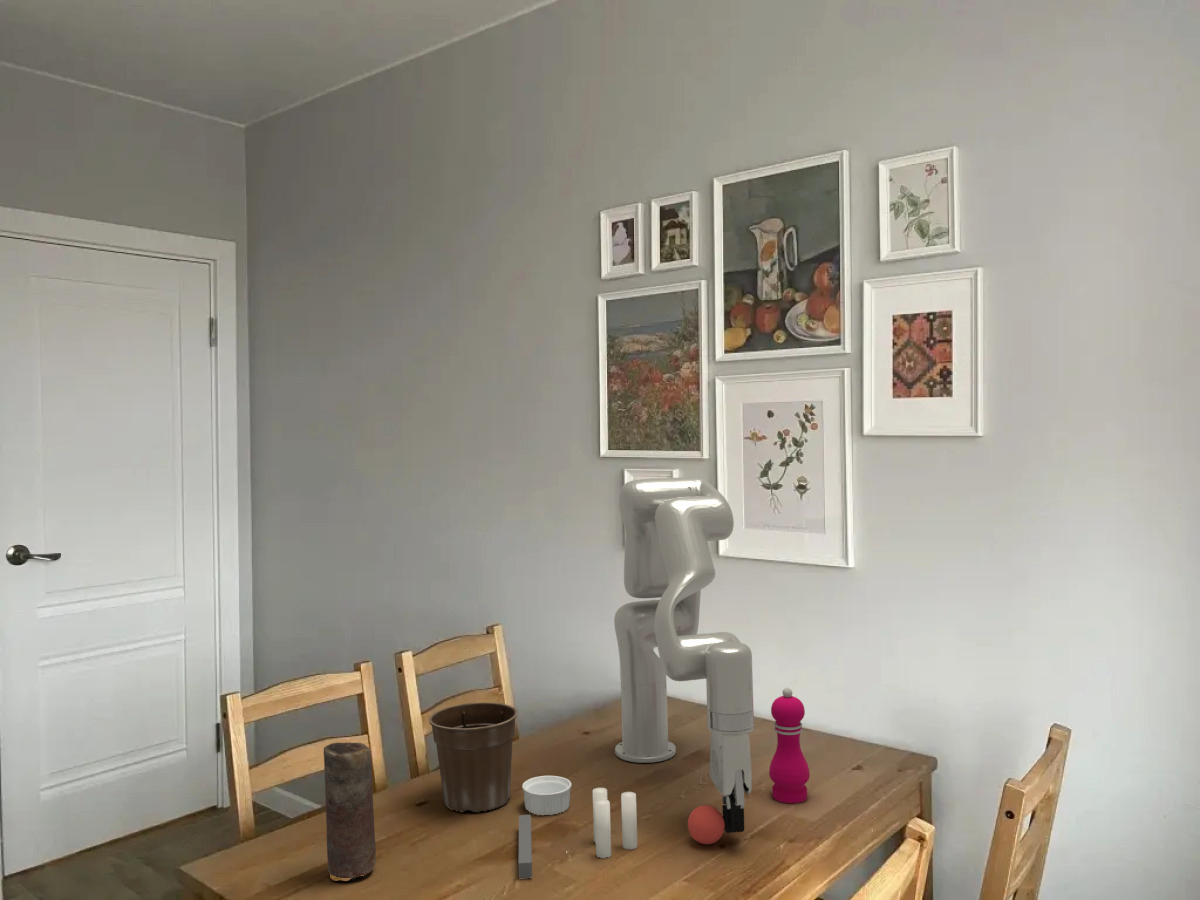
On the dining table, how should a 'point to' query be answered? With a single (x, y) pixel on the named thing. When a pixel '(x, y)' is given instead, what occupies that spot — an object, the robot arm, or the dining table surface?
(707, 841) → the ball
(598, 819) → the pin
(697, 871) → the dining table surface
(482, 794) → the plant pot
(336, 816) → the candle
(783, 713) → the pepper mill
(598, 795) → the pin
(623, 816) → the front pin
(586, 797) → the dining table surface
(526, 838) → the gray square bar
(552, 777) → the ramekin
